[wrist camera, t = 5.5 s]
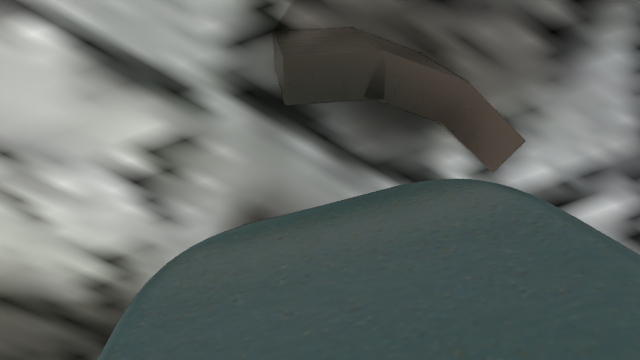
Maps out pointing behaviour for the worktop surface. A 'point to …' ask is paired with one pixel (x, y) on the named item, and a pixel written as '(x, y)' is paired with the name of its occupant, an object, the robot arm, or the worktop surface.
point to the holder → (389, 85)
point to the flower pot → (395, 284)
